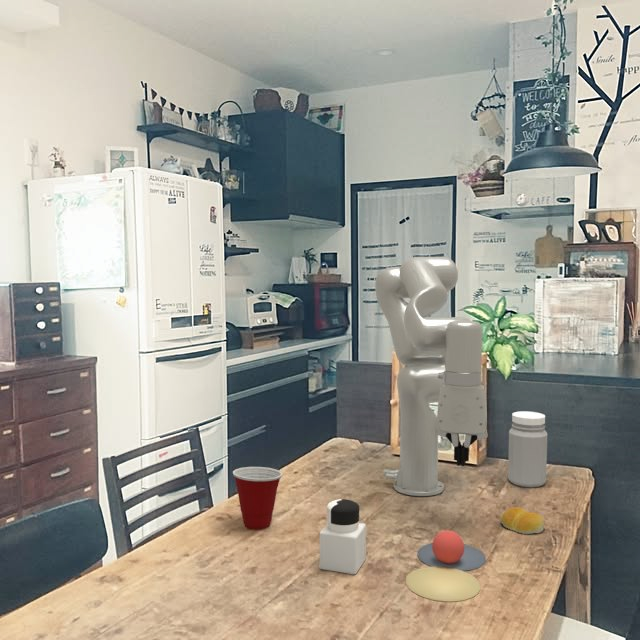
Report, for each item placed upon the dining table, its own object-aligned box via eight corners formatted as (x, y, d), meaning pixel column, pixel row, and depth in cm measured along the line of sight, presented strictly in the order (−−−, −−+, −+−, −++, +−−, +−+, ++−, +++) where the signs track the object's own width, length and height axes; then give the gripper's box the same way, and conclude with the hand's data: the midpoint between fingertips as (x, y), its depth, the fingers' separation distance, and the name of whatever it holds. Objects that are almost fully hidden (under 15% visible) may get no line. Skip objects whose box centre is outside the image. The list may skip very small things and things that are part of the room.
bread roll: (531, 539, 140) (531, 520, 140) (494, 526, 147) (495, 508, 147) (552, 529, 146) (553, 511, 145) (516, 517, 152) (516, 500, 152)
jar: (550, 480, 178) (552, 413, 177) (540, 491, 170) (542, 420, 168) (513, 474, 183) (515, 409, 182) (502, 484, 175) (504, 415, 174)
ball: (429, 537, 126) (435, 522, 131) (429, 566, 127) (434, 550, 133) (462, 542, 124) (466, 527, 130) (461, 572, 125) (465, 555, 131)
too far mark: (399, 594, 116) (399, 593, 116) (412, 563, 128) (412, 562, 128) (476, 606, 112) (476, 605, 112) (483, 573, 124) (483, 572, 124)
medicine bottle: (366, 559, 130) (366, 498, 129) (355, 575, 123) (356, 511, 122) (330, 554, 132) (331, 494, 131) (318, 569, 125) (319, 506, 124)
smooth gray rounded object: (411, 565, 127) (411, 564, 127) (423, 539, 139) (423, 538, 139) (482, 575, 123) (482, 574, 123) (488, 547, 135) (488, 546, 135)
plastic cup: (293, 524, 147) (293, 470, 146) (255, 539, 139) (255, 482, 138) (259, 512, 155) (259, 460, 154) (222, 525, 147) (222, 471, 146)
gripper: (424, 380, 142) (423, 465, 143) (498, 383, 137) (496, 472, 138) (430, 374, 149) (429, 456, 150) (500, 378, 144) (498, 462, 146)
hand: (461, 463), depth 144 cm, fingers closed
